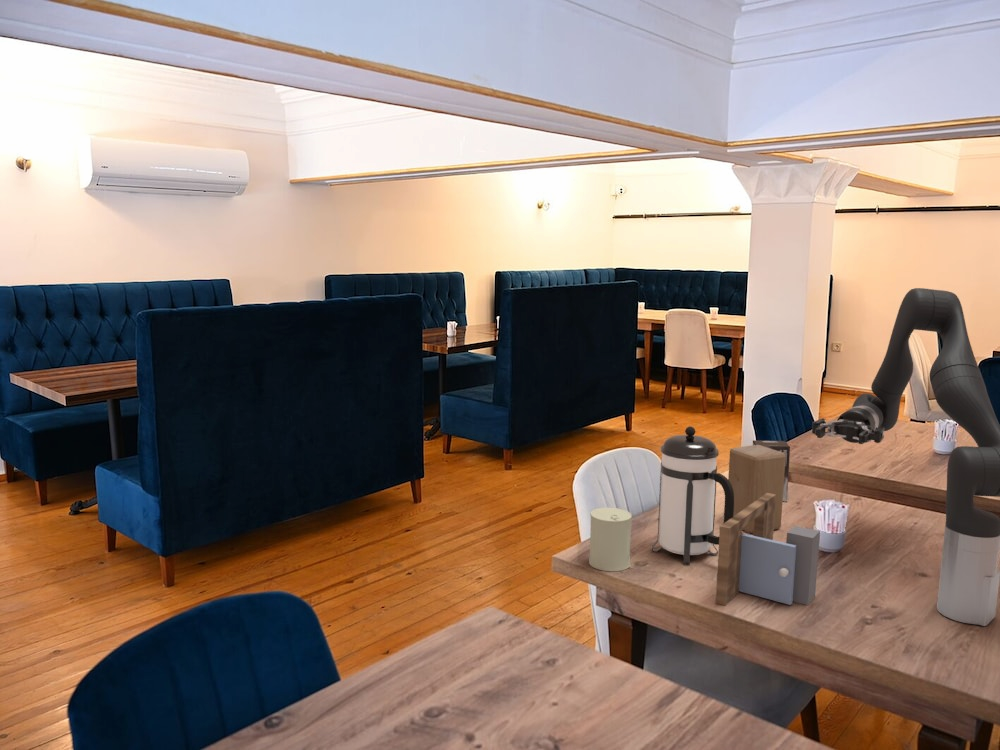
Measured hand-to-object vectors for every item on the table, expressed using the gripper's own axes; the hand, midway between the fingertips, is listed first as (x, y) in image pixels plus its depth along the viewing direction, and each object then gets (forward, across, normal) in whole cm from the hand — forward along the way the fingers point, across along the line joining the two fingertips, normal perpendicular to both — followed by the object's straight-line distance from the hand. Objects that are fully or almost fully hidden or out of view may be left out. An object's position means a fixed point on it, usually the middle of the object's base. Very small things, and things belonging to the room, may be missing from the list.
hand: (839, 436), depth 170 cm
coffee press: (+12, -28, +30) cm, 43 cm away
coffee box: (-41, -28, +30) cm, 58 cm away
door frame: (+19, -12, +30) cm, 37 cm away
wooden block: (-16, -23, +30) cm, 41 cm away
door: (+24, -7, +30) cm, 39 cm away
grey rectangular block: (+19, -1, +30) cm, 36 cm away
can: (+28, -40, +30) cm, 57 cm away
